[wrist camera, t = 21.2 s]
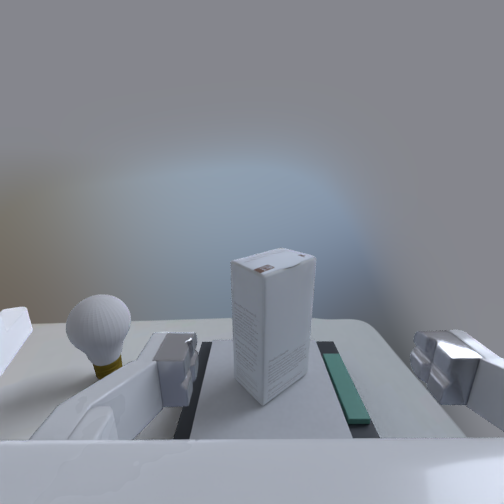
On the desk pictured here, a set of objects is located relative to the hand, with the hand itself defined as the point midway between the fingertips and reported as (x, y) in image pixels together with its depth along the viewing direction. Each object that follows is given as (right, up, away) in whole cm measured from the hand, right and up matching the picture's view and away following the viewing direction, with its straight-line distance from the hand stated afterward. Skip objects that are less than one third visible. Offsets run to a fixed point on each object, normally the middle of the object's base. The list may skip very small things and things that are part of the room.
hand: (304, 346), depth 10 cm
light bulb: (-18, -11, +20) cm, 29 cm away
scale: (0, -12, +16) cm, 20 cm away
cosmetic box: (0, -9, +15) cm, 17 cm away
